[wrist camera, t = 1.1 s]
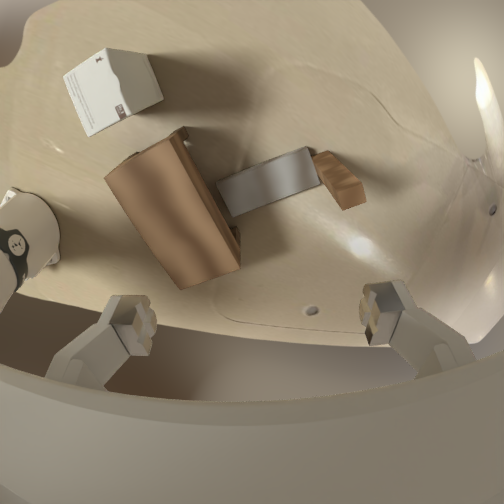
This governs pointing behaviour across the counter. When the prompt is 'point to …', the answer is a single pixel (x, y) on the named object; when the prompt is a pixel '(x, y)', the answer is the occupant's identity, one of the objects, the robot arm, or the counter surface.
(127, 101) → the skincare box
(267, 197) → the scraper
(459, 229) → the counter surface
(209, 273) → the small wooden table
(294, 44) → the counter surface
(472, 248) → the counter surface
